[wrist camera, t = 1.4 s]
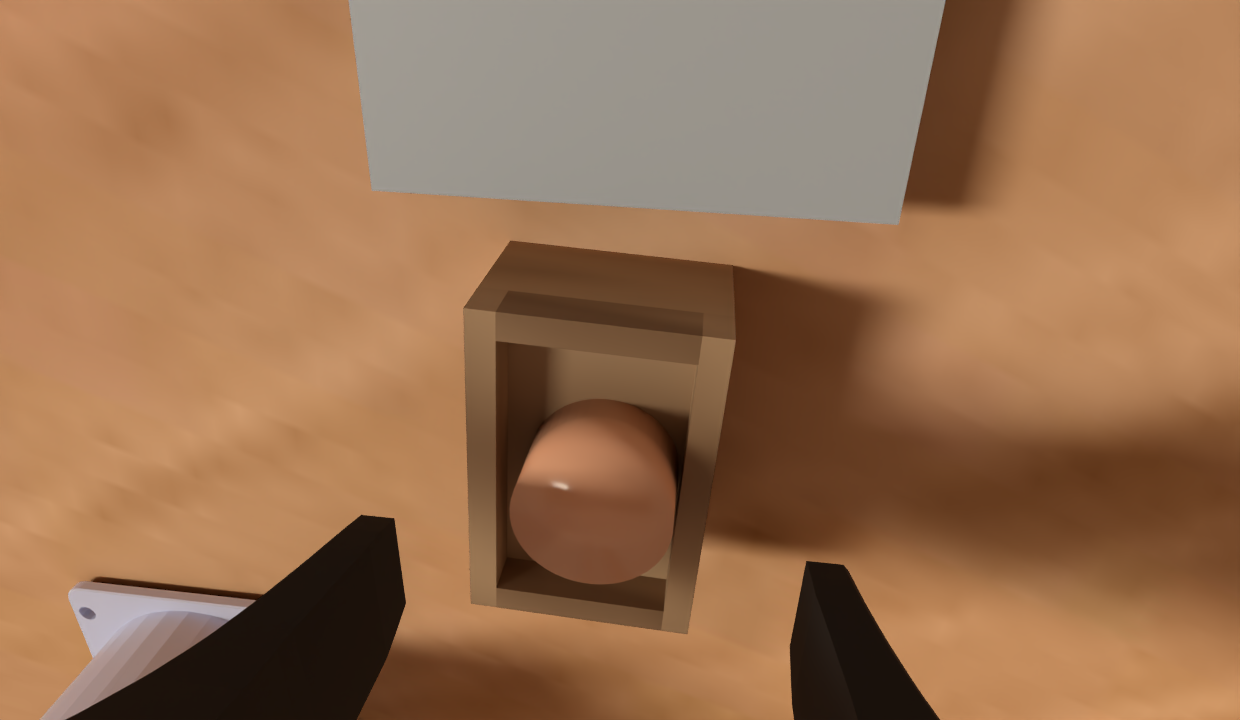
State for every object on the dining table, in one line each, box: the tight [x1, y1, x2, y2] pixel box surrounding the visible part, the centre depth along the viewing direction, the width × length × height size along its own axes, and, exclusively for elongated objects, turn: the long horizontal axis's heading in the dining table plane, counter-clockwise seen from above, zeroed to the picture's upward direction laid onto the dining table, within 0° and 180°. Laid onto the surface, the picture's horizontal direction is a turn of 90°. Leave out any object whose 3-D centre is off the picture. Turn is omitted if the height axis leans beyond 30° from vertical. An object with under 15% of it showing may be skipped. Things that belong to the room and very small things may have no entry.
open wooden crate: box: [463, 241, 736, 634], centre depth 18 cm, size 8×5×4 cm, turn 176°
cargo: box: [509, 399, 679, 584], centre depth 16 cm, size 3×3×2 cm
